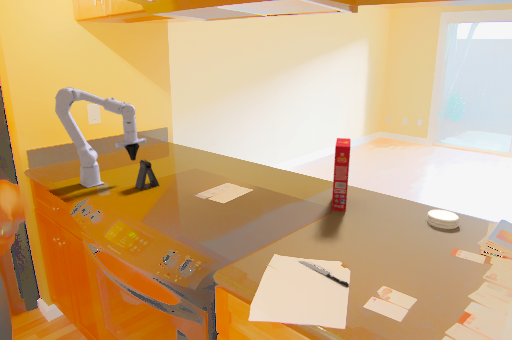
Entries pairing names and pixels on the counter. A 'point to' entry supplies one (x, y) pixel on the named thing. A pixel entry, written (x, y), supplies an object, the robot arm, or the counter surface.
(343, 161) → the food packaging
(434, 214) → the coaster
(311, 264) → the chef's knife
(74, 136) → the robot arm
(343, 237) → the counter surface
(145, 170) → the door stopper
